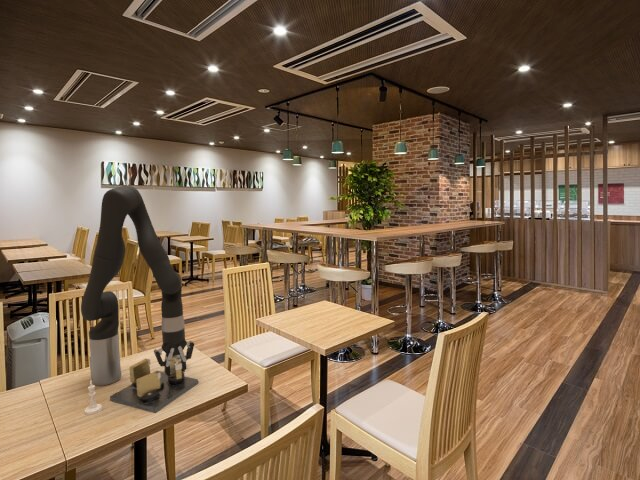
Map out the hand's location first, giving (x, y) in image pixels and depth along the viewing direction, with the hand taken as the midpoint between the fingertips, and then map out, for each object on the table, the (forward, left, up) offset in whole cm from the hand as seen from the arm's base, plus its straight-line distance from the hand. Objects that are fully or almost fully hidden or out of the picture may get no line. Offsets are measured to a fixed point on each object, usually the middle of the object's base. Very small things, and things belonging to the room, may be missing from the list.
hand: (176, 373), depth 133 cm
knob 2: (0, -12, -3) cm, 13 cm away
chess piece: (-14, -22, -5) cm, 26 cm away
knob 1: (-11, -6, -3) cm, 12 cm away
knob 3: (0, 0, -3) cm, 3 cm away
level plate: (-4, -6, -5) cm, 8 cm away
